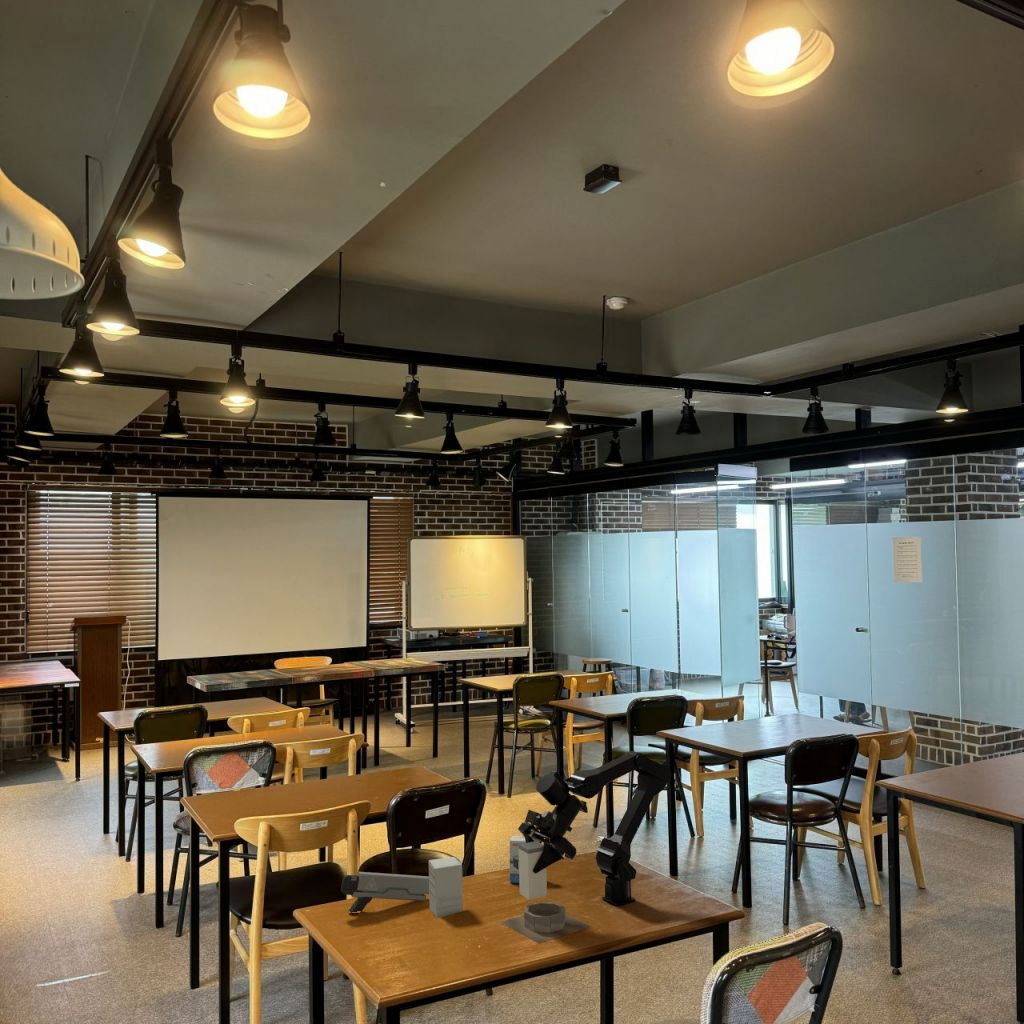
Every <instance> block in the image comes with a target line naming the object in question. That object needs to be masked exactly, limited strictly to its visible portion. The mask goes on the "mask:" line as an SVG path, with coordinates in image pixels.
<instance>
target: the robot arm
mask: <svg viewBox="0 0 1024 1024" xmlns="http://www.w3.org/2000/svg"><path fill="white" fill-rule="evenodd" d="M633 771H635V772H636V773H637V777H636V779H637V783H636V784H637V788H636V790H635V792H634V794H633V796H632V798H631V800H630V802H629V804H628V807H626V808H627V809H626V810H625V812H624V814H623V817H622V818H621V819H620V822H619V824H618V826H617V829H616V830H615V833H613V835H612V836H611V837H609V838H607V837H603V838H602V839H601V842H600V845H599V846H598V848H596V852H597V853H596V855H595V861H596V865H597V867H598V868H599V870H600V873H601V874H602V875H605V877H604V878H605V883H604V896H602V897H601V900H602V901H605V902H607V901H608V903H609V904H610V903H611V904H612V905H614V904H615V905H614V906H619V905H620V906H622V905H627V904H629V903H631V901H632V902H635V901H636V898H635V897H633V896H632V880H635V879H636V875H637V869H636V867H635V868H634V866H633V865H632V864H631V863H630V860H631V857H632V849H631V846H632V842H633V840H634V839H635V836H636V834H637V832H638V830H639V828H640V827H641V824H642V822H643V820H644V817H645V816H646V814H647V812H648V810H649V808H650V806H651V804H652V801H653V799H654V798H655V797H656V796H657V795H658V794H660V793H662V791H664V790H665V788H666V787H667V785H668V784H669V782H670V781H671V777H672V772H671V768H670V766H669V765H668V764H667V763H662V762H659V761H655V760H654V759H652V758H650V757H647V756H646V755H644V754H643V753H641V752H639V751H638V752H636V751H633V750H630V751H627V752H626V753H625V754H623V755H621V756H619V757H617V758H615V759H612V760H611V761H609V762H607V763H604V764H603V765H600V766H598V767H597V768H593V769H583V770H579V771H575V772H573V773H572V774H571V775H570V776H569V777H567V778H564V779H563V778H562V777H561V774H560V773H559V772H558V771H555V770H550V772H549V773H548V774H545V775H544V776H542V777H541V778H539V780H538V781H537V783H536V784H535V785H536V787H535V788H536V792H537V793H539V795H540V796H541V797H542V798H544V800H546V802H547V803H548V804H549V805H551V806H553V807H554V808H553V810H552V811H545V810H544V811H543V812H542V813H540V812H536V811H534V810H531V809H528V811H527V813H526V817H525V819H524V822H521V824H520V825H519V827H518V828H517V830H518V831H519V832H520V833H521V834H522V836H524V837H525V841H526V843H529V842H534V841H537V842H539V843H540V844H542V843H543V845H544V846H543V852H542V854H541V856H540V857H539V859H538V861H537V863H536V865H535V867H534V869H533V872H534V873H535V874H536V873H538V872H539V871H541V870H543V869H544V868H546V869H547V868H548V867H549V866H551V865H553V864H554V863H556V862H558V861H561V860H564V859H565V858H566V859H569V860H571V861H573V860H574V859H575V857H576V855H577V848H576V846H574V845H573V844H572V843H571V842H570V840H568V838H566V837H564V836H565V835H566V833H567V832H569V833H571V831H573V827H572V823H573V822H574V821H575V819H576V818H577V816H578V814H579V813H580V812H582V813H583V814H584V813H586V814H588V813H589V810H588V807H587V803H588V802H587V801H584V800H582V799H579V797H580V798H581V797H582V798H585V799H588V800H590V799H592V798H594V797H596V796H597V795H598V794H599V793H601V792H602V791H603V788H604V787H605V786H606V785H608V784H609V783H611V782H613V781H615V780H617V779H620V778H622V777H623V776H625V775H627V774H629V773H632V772H633ZM634 900H635V901H634ZM628 902H629V903H628Z"/></svg>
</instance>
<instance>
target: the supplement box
mask: <svg viewBox="0 0 1024 1024" xmlns="http://www.w3.org/2000/svg"><path fill="white" fill-rule="evenodd" d="M428 877H429V894H428V897H429V900H428V901H429V910H430V911H431V913H432V912H433V913H432V914H433V916H434V915H435V916H434V918H435V919H436V918H437V919H440V918H441V919H442V918H444V917H447V916H451V915H454V914H455V915H456V914H458V913H461V912H463V911H464V898H463V897H464V895H463V893H464V892H463V891H464V890H463V887H464V886H463V864H462V863H461V862H460V861H459V860H458V859H457V858H456V856H452V857H451V856H450V857H444V858H443V857H442V858H436V859H429V860H428Z"/></svg>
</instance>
